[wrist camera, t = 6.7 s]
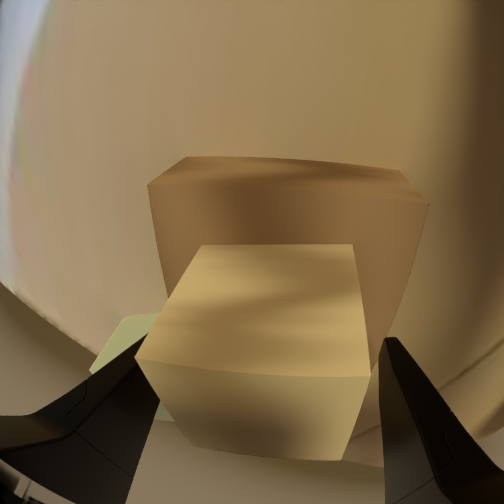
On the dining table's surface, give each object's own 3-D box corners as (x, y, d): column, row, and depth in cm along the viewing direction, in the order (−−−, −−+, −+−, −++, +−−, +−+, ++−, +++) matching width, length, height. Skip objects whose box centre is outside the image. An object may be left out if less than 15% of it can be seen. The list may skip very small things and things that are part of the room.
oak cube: (352, 244, 9) (370, 376, 5) (341, 349, 12) (340, 460, 8) (201, 245, 10) (134, 357, 6) (225, 344, 13) (191, 445, 9)
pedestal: (396, 168, 11) (428, 204, 8) (361, 324, 16) (366, 381, 13) (190, 154, 13) (147, 184, 9) (206, 308, 18) (184, 360, 14)
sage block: (182, 308, 17) (149, 374, 13) (217, 361, 20) (196, 423, 16) (124, 316, 19) (88, 370, 15) (160, 363, 21) (135, 416, 17)
